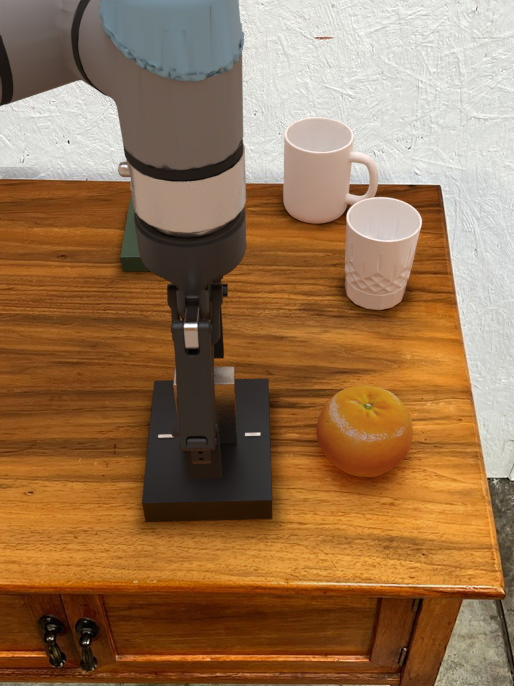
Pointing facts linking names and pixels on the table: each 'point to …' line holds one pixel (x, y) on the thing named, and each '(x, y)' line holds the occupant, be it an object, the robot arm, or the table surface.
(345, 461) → the fruit
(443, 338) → the table surface
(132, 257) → the button block
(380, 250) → the white cup
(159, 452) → the panel
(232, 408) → the knob
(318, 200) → the cup
